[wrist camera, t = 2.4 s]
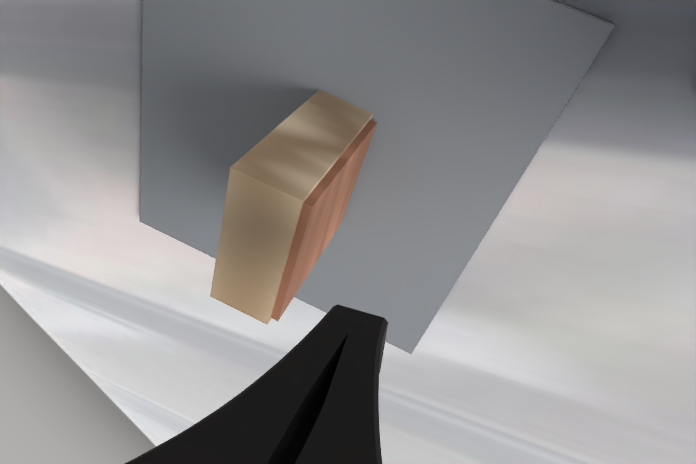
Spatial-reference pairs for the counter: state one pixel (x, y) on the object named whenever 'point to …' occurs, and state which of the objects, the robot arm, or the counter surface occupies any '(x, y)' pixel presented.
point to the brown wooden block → (288, 204)
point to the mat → (388, 111)
